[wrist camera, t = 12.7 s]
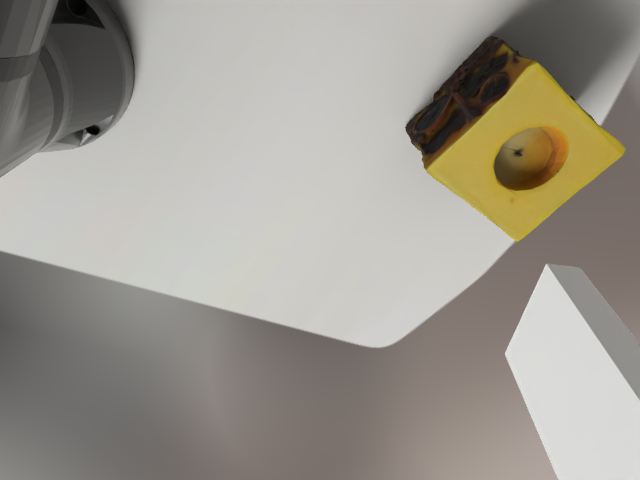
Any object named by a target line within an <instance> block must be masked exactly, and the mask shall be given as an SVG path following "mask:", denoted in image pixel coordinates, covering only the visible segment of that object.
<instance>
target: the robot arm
mask: <svg viewBox="0 0 640 480" xmlns="http://www.w3.org/2000/svg"><path fill="white" fill-rule="evenodd" d="M133 82H134V68H133V60H132V54H131V50H130V46H129V43H128V40H127V38H126V35H125V32H124V30H123V28H122V26H121V24H120V22H119V20H118V18H117V17H116V15H115V13H114V12H113V10H112V9H111V7H110V6H109V5H108V3H107V2H106V1H105V0H0V177H2V176H3V175H5V174H6V173H8V172H9V171H10V170H12V169H13V168H15V167H16V166H18V165H19V164H21V163H22V162H24V161H25V160H26V159H28V158H29V157H31V156H32V155H33V154H35V153H39V152H49V151H60V150H69V149H74V148H77V147H81V146H83V145H86V144H88V143H90V142H92V141H94V140H96V139H98V138H99V137H100V136H102V135H103V134H104V133H106V132H107V131H108V130H109V129H111V128H112V127H113V126H114V125H115V124H116V123H117V122H118V121H119V119H120V118H121V117H122V115H123V114H124V112H125V110H126V108H127V106H128V104H129V101H130V98H131V95H132V90H133ZM505 356H506V358H507V360H508V363H509V365H510V367H511V370H512V372H513V374H514V377H515V379H516V382H517V384H518V386H519V389H520V391H521V393H522V396H523V398H524V400H525V403H526V405H527V407H528V410H529V412H530V414H531V417H532V419H533V421H534V424H535V426H536V429H537V431H538V433H539V436H540V438H541V440H542V443H543V445H544V447H545V450H546V452H547V454H548V456H549V459H550V461H551V464H552V466H553V468H554V471H555V473H556V475H557V478H558V480H640V344H639V343H638V341H637V340H636V339H635V338H634V336H633V335H632V334H631V332H630V331H629V330H628V329H627V327H626V326H625V325H624V324H623V322H622V321H621V320H620V318H619V317H618V316H617V315H616V313H615V312H614V311H613V310H612V308H611V307H610V306H609V304H608V303H607V302H606V301H605V299H604V298H603V297H602V295H601V294H600V293H599V291H598V290H597V289H596V288H595V286H594V285H593V284H592V283H591V281H590V280H589V279H588V277H587V276H586V275H585V274H584V272H583V271H582V270H581V269H580V268H577V267H570V266H561V265H553V264H546V265H545V268H544V270H543V272H542V275H541V276H540V279H539V281H538V283H537V285H536V287H535V290H534V292H533V294H532V296H531V298H530V300H529V302H528V305H527V307H526V309H525V312H524V313H523V316H522V318H521V320H520V322H519V324H518V326H517V328H516V331H515V333H514V335H513V337H512V339H511V342H510V344H509V346H508V348H507V350H506V353H505Z"/></svg>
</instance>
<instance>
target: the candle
mask: <svg viewBox="0 0 640 480" xmlns="http://www.w3.org/2000/svg"><path fill="white" fill-rule="evenodd" d="M405 128H406V132H407V134H408V135H409V137H410V139H411V142H412V144H413V145H414V146H415V147H416V148H417V149H418V150H420V151H421V152H422V155H423V158H422V161H423V163H424V168H425V169H426V171H427V172H428V173H429V174H430V175H431V176H432V177H433V178H435V179H436V180H437V181H439V182H440V183H442V184H443V185H445V186H446V187H447V188H448V189H450V190H451V191H452V192H454V193H455V194H456V195H458V196H459V197H461V198H462V199H464V200H465V201H466V202H468V203H469V204H470V205H471V206H473V207H474V208H475V209H477V210H478V211H479V212H480V213H482V214H483V215H484V216H486V217H487V218H488V219H489V220H491V221H492V222H493V223H494V224H496V225H497V226H498V227H500V228H501V229H502V230H503V231H504V232H505V233H506V234H507V235H509V236H510V237H511V238H513V239H514V240H516V241H517V242H518V241H520V240H521V239H522V238H524V237H525V236H526V235H528V234H529V233H530V232H531V231H532V230H533V229H534V228H536V227H537V226H538V225H539V224H540V223H541V222H543V221H544V220H545V219H546V218H547V217H548V216H549V215H551V214H552V213H553V212H554V211H555V210H556V209H558V208H559V207H560V206H561V205H562V204H563V203H565V202H566V201H567V200H568V199H569V198H570V197H572V196H573V195H574V194H575V193H577V192H578V191H579V190H580V189H581V188H583V187H584V186H586V185H587V184H588V183H589V182H591V181H592V180H593V179H594V178H596V177H597V176H598V175H599V174H600V173H601V172H603V171H604V170H605V169H606V168H608V167H609V166H610V165H611V164H612V163H614V162H615V161H616V160H617V159H619V158H620V157H621V156H622V155H623V154H624V151H625V147H624V146H623V145H622V144H621V143H620V142H619V141H618V140H617V139H615V138H614V137H613V136H612V135H611V134H610V133H608V132H607V131H606V130H605V129H603V128H602V127H601V126H599V125H598V124H597V123H596V122H595V121H594V119H593V118H592V117H591V116H590V115H589V114H588V113H587V112H585V111H584V110H583V109H582V108H581V107H580V106H579V105H578V104H577V103H576V102H575V99H574V98H573V97H572V96H569V95H568V94H567V93H566V92H565V91H564V90H563V89H562V88H561V86H560V85H559V84H558V83H557V82H556V80H555V79H554V78H553V77H552V76H551V75H550V74H549V73H548V72H547V71H546V70H545V68H544V67H542V66H541V65H540V64H539V63H537V62H536V61H535V60H532V59H528V58H522V57H521V56H520V55H519V54H518V51H515V50H513V49H512V48H511V47H509V46H508V45H507V44H506V43H505V42H504V41H503V40H500V39H499V40H498V38H496V37H493V36H492V37H490V38H488V39H486V40H485V41H484V42H483V43H482V44H481V46H480V47H479V48H478V49H477V50H476V51H475V52H474V53H473V54H472V55H471V56H470V58H469V59H468V60H467V61H465V62H464V63H462V66H460V67H459V68H458V69H457V70H456V71H455V73H454V74H453V75H452V76H451V78H450V79H449V80H447V81H446V82H445V83H444V84H443V85H442V86H441V88H440V90H439V92H436V93H435V94H434V101H433V103H432V104H431V105H430V106H428V107H427V108H426V109H425V110H424V111H423V112H422V113H420V114H419V115H417V116H415V117H414V118H413V120H411V121H410V122H409V123H408V125H407V126H406V127H405Z"/></svg>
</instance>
